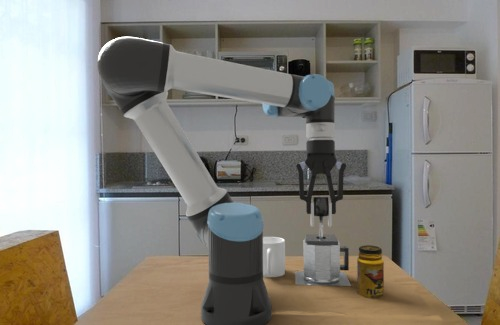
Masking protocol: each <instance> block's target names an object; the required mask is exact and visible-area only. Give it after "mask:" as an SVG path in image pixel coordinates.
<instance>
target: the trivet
mask: <svg viewBox="0 0 500 325" xmlns="http://www.w3.org/2000/svg"><path fill="white" fill-rule="evenodd" d="M294 274H295V285H296V286H305V285H306V286H327V287H328V286H335V287H352V284H351V283H350V280H349V278H348V276H347V274H346V272H345V271H340V280H339V281H338V282H336V283H333V284H315V283H311V282H308V281H306V280H305V279H304V270H295V271H294Z"/></svg>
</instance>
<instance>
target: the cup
mask: <svg viewBox="0 0 500 325" xmlns="http://www.w3.org/2000/svg"><path fill="white" fill-rule="evenodd" d="M285 241H286V240H285V239H284V238H282V237H278V236H263V278H277V277H282V276H285V274H286V244H285V243H286V242H285Z"/></svg>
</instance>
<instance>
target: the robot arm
mask: <svg viewBox="0 0 500 325" xmlns="http://www.w3.org/2000/svg"><path fill="white" fill-rule="evenodd" d="M96 63H97V72H98V74H99V77H100V79H101V82H102V84H103V87H104V89H105V91H106V92H107V93H108V95H109V96H110V97H111V99H112V100H113V101H114V103H115V105H116V106H117V108H118V110H119V111H120V112H121V114H122V115H123V117H124V118H127V119H132V120H133V121H134V122H135V124H136V126H137V127H138V128H139V131H141V132H140V133H141V134H142V135H143V137H144V138H145V139H146V140H145V141H146V142H148V145H149V146H150V148H151V149H152V151H153V152H154V154H155V156H156V157H157V159H158V160H159V162H160V164H161V165H162V168H164V171H165V172H166V173H167V175H168V177H169V179H170V180H171V181H172V183H173V184H174V186H175V188H176V190H177V191H178V192H179V195H180V196H181V197H182V199H183V201H184V203H185V204H186V210H185V211H186V212H185V215H186V217H187V219H188V221H189V222H190V224H191V225H192V228H194V231H195V233H196V235H197V237H198V239H199V241H200V242H202V243H203V244H204V246H206V248H207V249H208V283H207V285H206V288H205V292H204V295H203V298H202V302H201V305H200V306H201V307H200V319H201V321H202V322H203V323H204V324H205V325H266V324H268V322H269V321H270V320H271V318H272V315H273V314H272V313H273V311H272V301H271V299H270V296H269V293H268V289H267V286H266V284H265V281H264V277H263V237H264V221H263V214H262V211H261V209H259V208H258V207H257V206H255V205H252V204H246V203H242V202H234V200H233V199H232V197H231V195H230V193H229V192H228V190H227V189H226V188H223V187H218V185H217V184H216V183H215V182H216V181H215V180H214V179H213V177H212V176H211V174H210V172H209V171H208V169H207V167H206V166H205V164H204V162H203V161H202V159H201V157H200V155H199V154H198V152H197V150H196V149H195V147H194V145H193V144H192V142H191V141H190V139H189V138H188V136H187V134H186V132H185V131H184V129H183V128H182V126H181V124H180V122H179V120H178V119H177V117H176V116H175V114H174V112H173V110H172V109H171V106H170V105H169V104H168V102H167V100H168V95H169V92H168V91H170V90H178V91H184V92H189V93H194V94H195V93H196V94H202V95H206V96H207V95H208V96H215V97H221V98H227V99H233V100H239V101H245V102H248V103H249V102H251V103H256V104H261V105H262V110H263V112H264V114H265V116H267V117H275V118H279V117H280V118H281V117H282V118H286V117H287V118H305V120H306V121H305V127H306V128H305V131H306V132H305V133H306V134H305V136H306V139H307V141H306V145H305V146H306V149H305V150H306V151H305V152H306V156H305V159H304V161H302V162H298V163H297V162H296V164H295V166H296V169H297V172H298V190H299V192H298V193H299V199H300V200H301V201H304V202H306V205H305V206H306V209H305V210H306V213H307V215H310V227H311V228H314V227H315V216H314V202H313V201H312V200H313V199H312V198H313V192H314V187H315V184H316V178H317V175H320V174H323V175H324V177H325V180H326V185H327V190H328V193H329V194H328V195H329V199H330V200H328V212H329V216H327V226H328V227H329V228H333V215H336V213H337V206H336V205H337V202H338V201H342V200H343V198H344V179H345V178H344V177H345V175H344V174H345V170H346V168H347V164H346V163H345V162H341V161H339V160H337V157H336V149H335V148H336V146H335V145H336V144H335V142H336V141H334V138H335V134H336V133H335V99H336V97H335V86H334V83H333V82H332V81H330V80H328V79H327V78H326V77H325V76H323V75H321V74H319V73H318V74H317V73H312V74H307V75H305V76H303V75H297V74H291V73H286V72H281V71H276V70H271V69H267V68H261V67H256V66H252V65H247V64H242V63H241V64H240V63H237V62H232V61H229V60H228V61H226V60H222V59H218V58H212V57H207V56H202V55H197V54H194V53H193V54H192V53H189V52H182V51H178V50H176V49H175V48H174V46H173V45H172V44H170V43H165V42H161V41H156V40H150V39H145V38H141V37H140V38H139V37H135V36H121V37H116V38H115V39H112V40H110V41H108V42H107V43H106V44H104V46H103V47H101V50H100V51H99V54H98V57H97V62H96ZM335 166H336V169H337V188H336V190H337V192H336V194H335V188H334V186H333V179H332V175H331V171H332V170H333V168H334V167H335ZM305 167H307V168H308V169H309V170H310V172H311V173H310V177H309V182H308V183H309V184H308V188H307V193H306V195H305V184H304V170H305V169H306V168H305Z"/></svg>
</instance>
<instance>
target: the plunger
mask: <svg viewBox="0 0 500 325" xmlns="http://www.w3.org/2000/svg"><path fill="white" fill-rule="evenodd" d="M312 198H313V199H312V200H313V202H314V217H318V224H319V225H318V229H319V231H318V234H319V239H323V234H324V217H328V216H329V212H328V201H329V196H327V195H315V196H312Z"/></svg>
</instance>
